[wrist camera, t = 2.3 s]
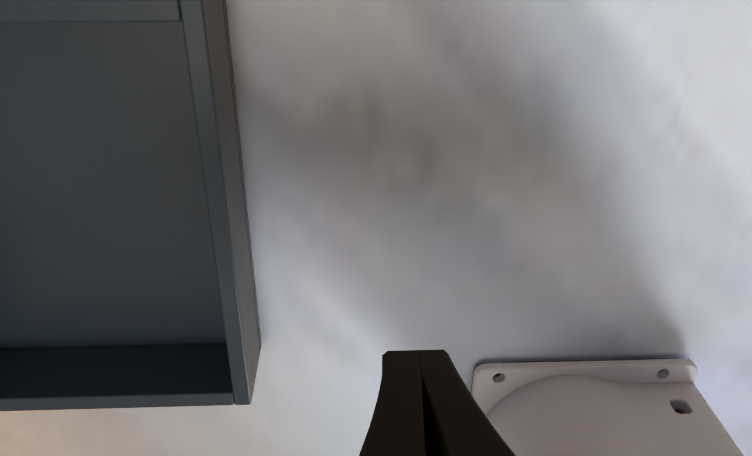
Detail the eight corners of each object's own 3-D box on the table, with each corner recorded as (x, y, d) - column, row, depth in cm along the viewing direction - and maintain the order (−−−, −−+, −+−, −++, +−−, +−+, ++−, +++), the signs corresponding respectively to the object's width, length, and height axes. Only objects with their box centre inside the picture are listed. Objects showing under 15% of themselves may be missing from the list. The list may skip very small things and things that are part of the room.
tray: (223, -21, 19) (201, -2, 16) (261, 345, 26) (251, 405, 23) (-158, -22, 18) (-252, -3, 15) (-16, 352, 25) (-62, 413, 22)
